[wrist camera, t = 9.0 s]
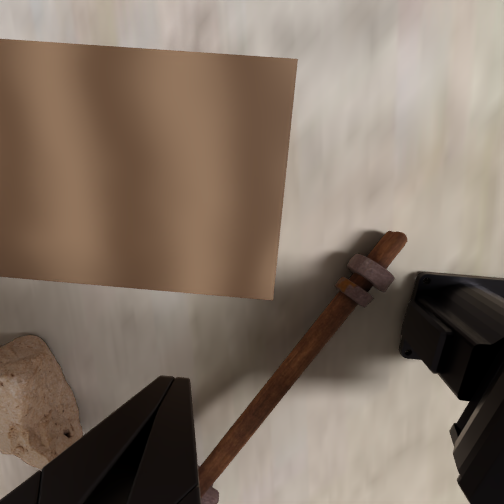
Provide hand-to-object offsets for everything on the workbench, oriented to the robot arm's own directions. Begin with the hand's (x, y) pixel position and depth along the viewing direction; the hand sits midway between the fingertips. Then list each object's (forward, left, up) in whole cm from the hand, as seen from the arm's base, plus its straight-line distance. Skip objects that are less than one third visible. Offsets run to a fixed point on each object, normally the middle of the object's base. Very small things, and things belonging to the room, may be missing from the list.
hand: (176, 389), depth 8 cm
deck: (+5, -5, -12) cm, 14 cm away
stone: (+15, +12, -13) cm, 23 cm away
